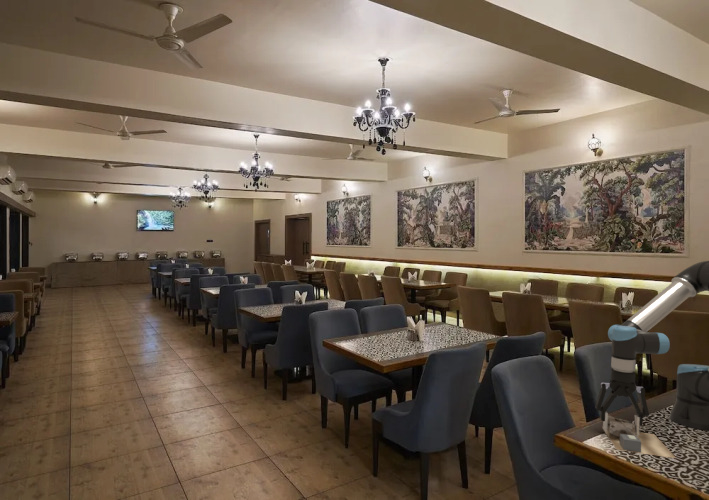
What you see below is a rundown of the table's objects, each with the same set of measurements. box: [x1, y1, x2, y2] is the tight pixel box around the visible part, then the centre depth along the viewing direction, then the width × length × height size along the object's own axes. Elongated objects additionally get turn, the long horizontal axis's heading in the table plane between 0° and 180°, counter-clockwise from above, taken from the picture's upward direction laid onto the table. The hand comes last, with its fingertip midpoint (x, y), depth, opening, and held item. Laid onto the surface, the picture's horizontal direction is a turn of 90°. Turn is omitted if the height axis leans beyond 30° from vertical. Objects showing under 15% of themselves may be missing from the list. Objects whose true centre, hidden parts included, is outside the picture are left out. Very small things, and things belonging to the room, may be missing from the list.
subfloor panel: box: [601, 426, 677, 459], centre depth 155 cm, size 17×20×1 cm
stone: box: [607, 415, 636, 436], centre depth 160 cm, size 13×6×10 cm
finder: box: [619, 434, 641, 453], centre depth 149 cm, size 5×5×4 cm
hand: (620, 432), depth 160 cm, fingers closed on stone, 9 cm apart
